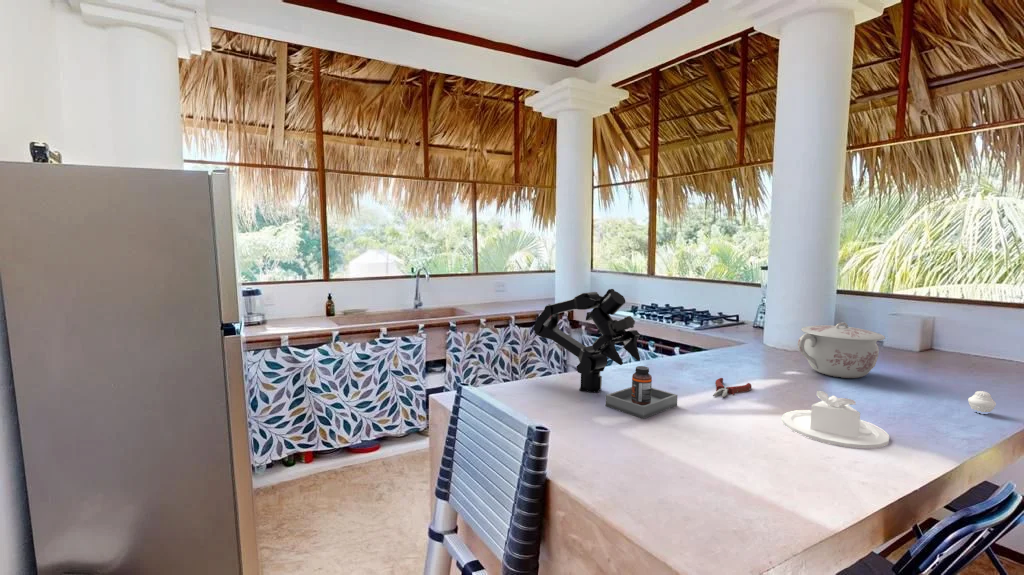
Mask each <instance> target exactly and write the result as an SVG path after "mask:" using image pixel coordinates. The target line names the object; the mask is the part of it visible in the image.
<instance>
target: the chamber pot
mask: <svg viewBox="0 0 1024 575" xmlns="http://www.w3.org/2000/svg"><path fill="white" fill-rule="evenodd" d="M800 330H801V331H802V332H803V334H802V335H801V336H799V338H798V340H797V349H798V352H800V354H801V356H803V357H804V358H805V359H806V360H807V362H808V364H809V366H810V367H811V368H812V369H813V370H814V371H815V372H818V373H820V374H822V375H824V374H825V376H828V377H832V376H833V378H838V377H841V379H858V378H863V377H865V376H867V375H868V374H869V373H870V372H871V371H872V370H873V369H874V368H875V366H876V364H877V361H878V359H879V351H880V350H879V349H880V348H879V346H878V344H877V342H878V341H879V342H880V341H883V340H885V339H886V336H885V335H883V334H881V333H879V332H878V333H877V332H875V331H872V330H868V329H863V328H858V327H851V326H849V325H848V323H847V322H845V321H844V322H839V323H837V324H836V325H831V324H830V325H825V324H823V325H821V324H818V325H809V326H808V325H807V326H802V328H801V329H800Z"/></svg>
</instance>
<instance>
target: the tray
mask: <svg viewBox="0 0 1024 575" xmlns="http://www.w3.org/2000/svg"><path fill="white" fill-rule="evenodd" d="M631 397H632V386H630V387H627V388H623V389H620V390H618V391H614V392H611V393H608V394H605V407H608V408H610V409H613V408H614V410H616V409H617V411H619V410H620V411H619V412H622V411H623V413H625V414H628V415H631V416H634V417H638V418H639V417H640V419H642V418H643V419H646V417H647V418H649V417H652V416H654V414H655V415H656V413H657V414H659V412H660V413H662V412H665V411H667V410H670V409H672V408H675V407H677V406H678V394H676V393H672V392H668V391H666V390H661V389H657V388H654V387H651V403H650V404H647V405H639V404H636V403H633V402H632V398H631ZM674 406H675V407H674ZM669 408H670V409H669ZM666 409H667V410H666ZM664 410H665V411H664ZM661 411H662V412H661ZM651 415H652V416H651Z"/></svg>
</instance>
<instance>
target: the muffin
mask: <svg viewBox="0 0 1024 575" xmlns="http://www.w3.org/2000/svg"><path fill="white" fill-rule="evenodd" d="M991 396H992V395H991V394H990V393H989V392H987V391H984V390H982V391H981V390H978V391H975V392H974V394H973V395H972V396H970V397H968V400H967V401H968V404H969V406H970V408H971V410H972V409H974V410H977V411H981V412H990V413H991V412H992V411H993V410H994V409H995V407H996V405H997V403H996V401H995V400H993V398H992V397H991Z"/></svg>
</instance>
